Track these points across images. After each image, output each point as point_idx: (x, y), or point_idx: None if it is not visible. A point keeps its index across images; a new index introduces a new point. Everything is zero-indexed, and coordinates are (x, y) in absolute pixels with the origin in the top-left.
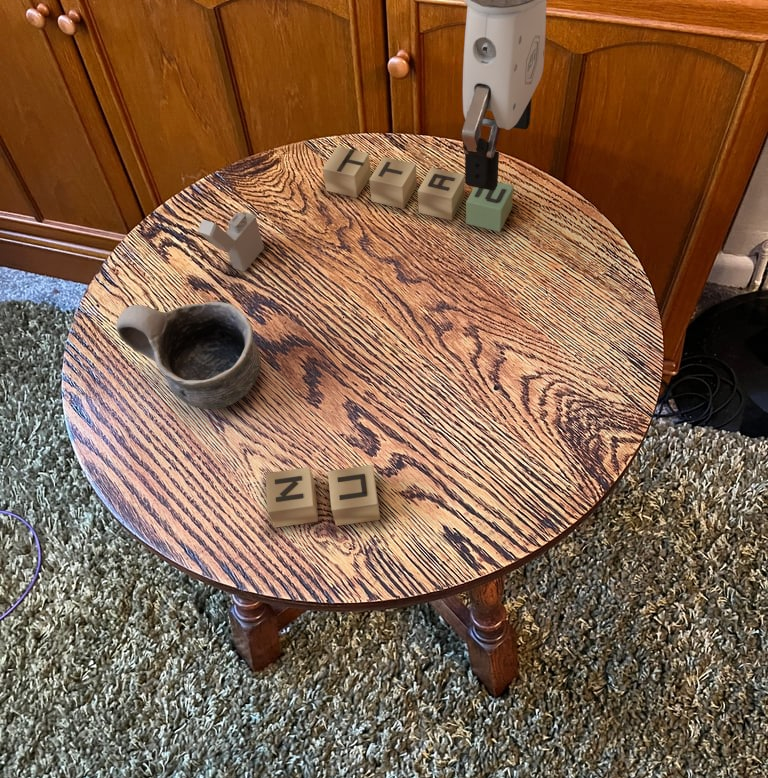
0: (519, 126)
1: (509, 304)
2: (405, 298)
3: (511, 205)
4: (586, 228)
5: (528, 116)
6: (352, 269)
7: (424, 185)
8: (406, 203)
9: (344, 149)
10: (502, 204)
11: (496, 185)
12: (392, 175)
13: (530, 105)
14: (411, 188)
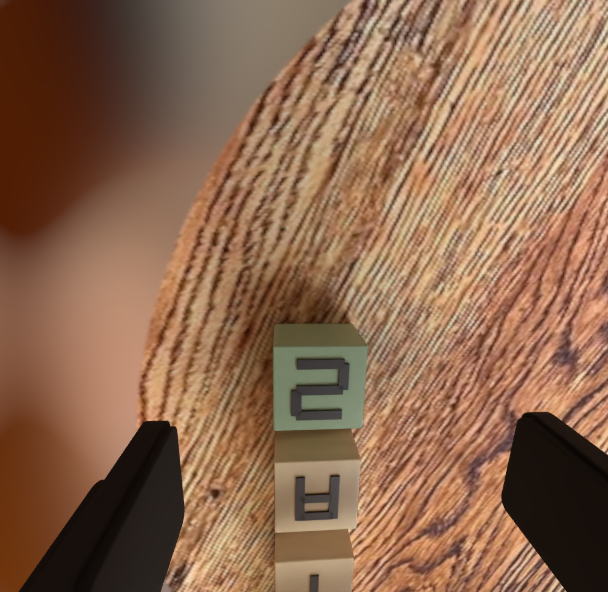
0: (174, 453)
1: (542, 238)
2: None
3: (281, 327)
4: (283, 138)
5: (142, 460)
6: (502, 518)
7: (337, 523)
8: None
9: None
10: (350, 349)
11: (552, 418)
12: (326, 586)
13: (100, 503)
14: None
